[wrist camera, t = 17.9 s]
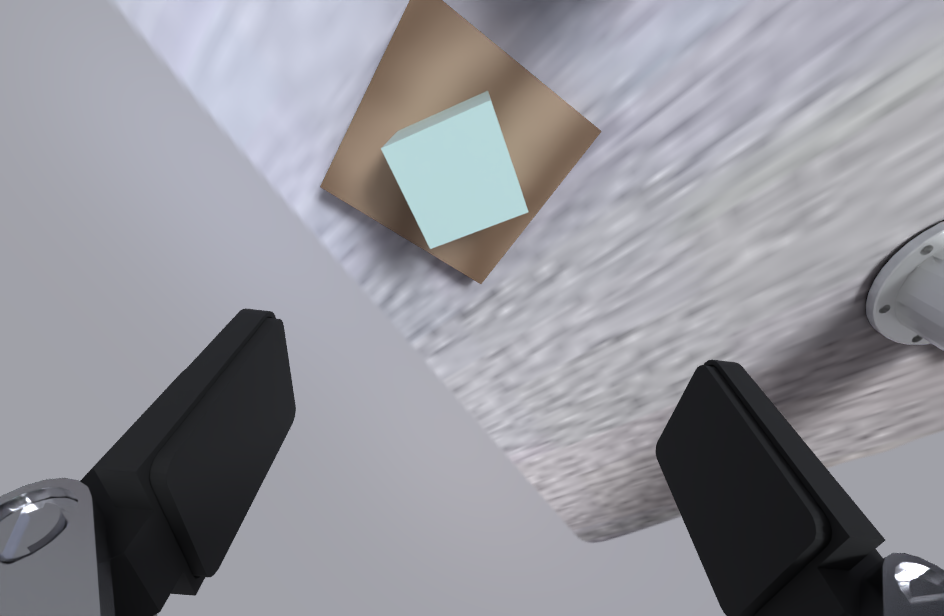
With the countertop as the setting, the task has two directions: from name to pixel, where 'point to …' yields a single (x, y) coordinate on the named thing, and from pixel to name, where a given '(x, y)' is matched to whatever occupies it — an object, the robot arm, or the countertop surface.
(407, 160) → the pale blue cube
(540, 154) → the wooden peg base
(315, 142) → the countertop surface
